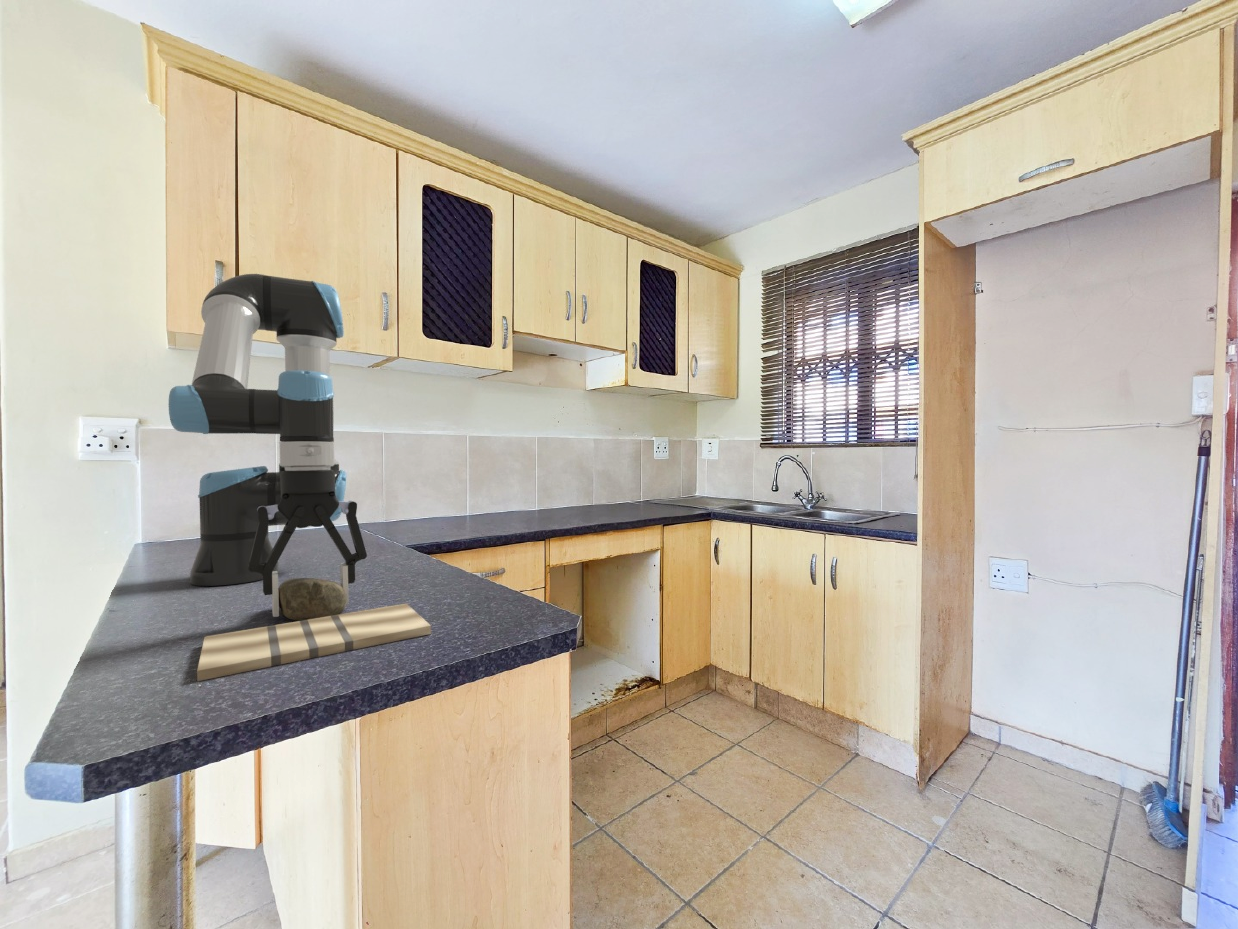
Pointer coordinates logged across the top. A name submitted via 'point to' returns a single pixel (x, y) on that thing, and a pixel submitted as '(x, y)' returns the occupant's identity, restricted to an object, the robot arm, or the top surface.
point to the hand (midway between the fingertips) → (311, 608)
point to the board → (306, 639)
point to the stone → (310, 598)
